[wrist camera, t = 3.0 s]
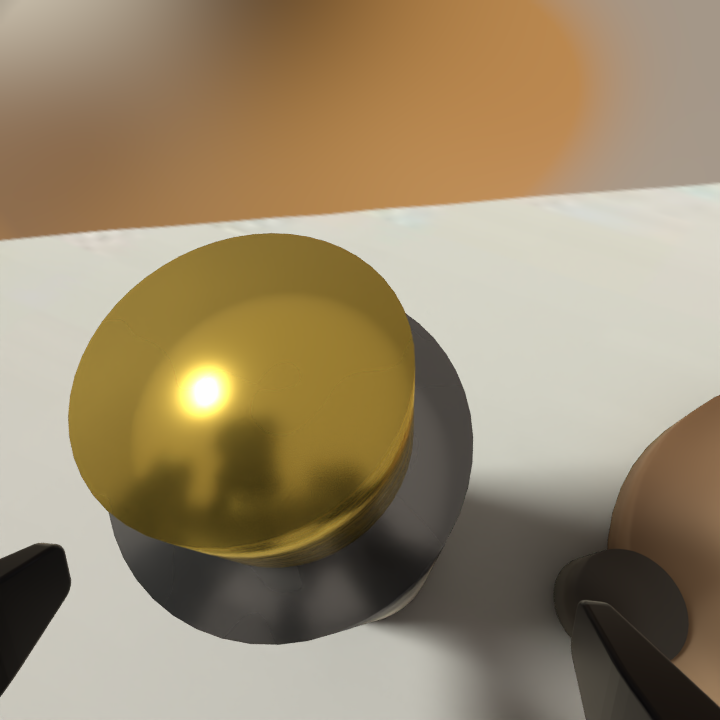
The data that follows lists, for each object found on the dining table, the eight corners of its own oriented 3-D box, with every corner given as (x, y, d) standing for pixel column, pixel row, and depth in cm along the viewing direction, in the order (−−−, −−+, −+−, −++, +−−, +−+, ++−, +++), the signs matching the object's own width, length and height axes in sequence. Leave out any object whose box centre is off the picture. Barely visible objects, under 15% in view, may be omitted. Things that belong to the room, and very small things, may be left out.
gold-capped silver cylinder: (458, 521, 17) (586, 289, 5) (382, 656, 15) (266, 858, 3) (347, 448, 19) (229, 144, 6) (267, 561, 17) (-107, 432, 5)
